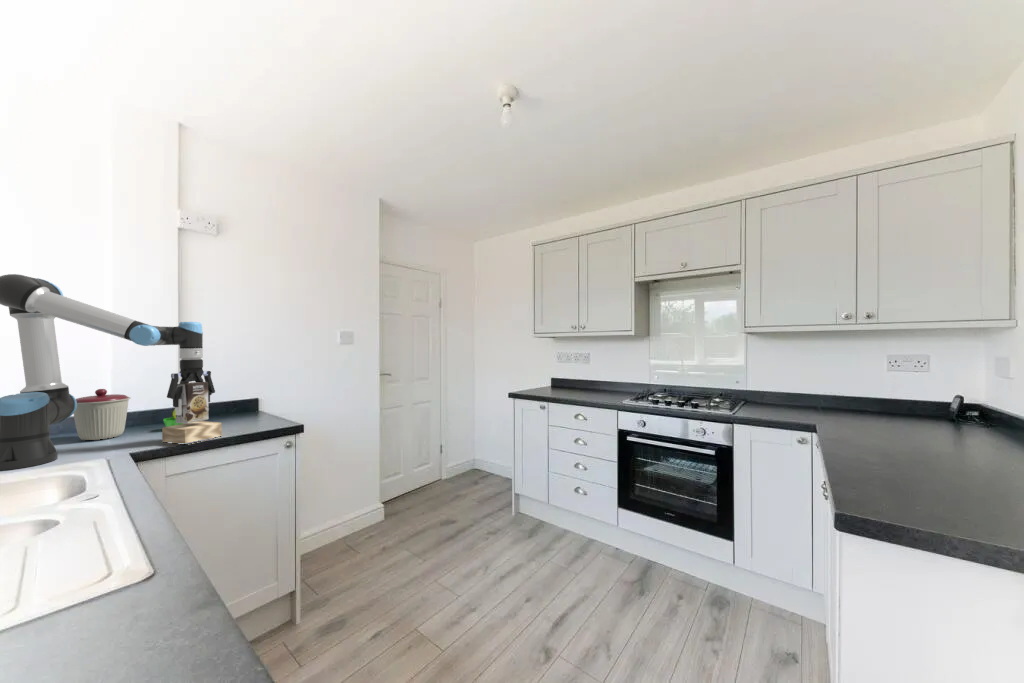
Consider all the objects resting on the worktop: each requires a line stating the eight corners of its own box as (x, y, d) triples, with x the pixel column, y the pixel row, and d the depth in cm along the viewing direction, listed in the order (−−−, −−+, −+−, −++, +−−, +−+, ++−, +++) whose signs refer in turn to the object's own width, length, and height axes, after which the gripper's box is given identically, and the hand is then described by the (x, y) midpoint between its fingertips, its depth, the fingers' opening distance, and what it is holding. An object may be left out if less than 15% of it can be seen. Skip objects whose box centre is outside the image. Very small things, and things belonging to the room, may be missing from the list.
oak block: (185, 445, 155) (184, 429, 155) (162, 442, 160) (162, 427, 160) (221, 436, 169) (221, 422, 169) (199, 434, 173) (199, 420, 173)
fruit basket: (195, 425, 193) (194, 402, 193) (195, 428, 186) (195, 404, 186) (163, 429, 185) (163, 405, 185) (163, 432, 178) (162, 407, 178)
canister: (142, 433, 177) (141, 386, 177) (96, 443, 159) (95, 391, 159) (106, 432, 179) (105, 386, 179) (57, 443, 161) (56, 391, 161)
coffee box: (188, 423, 159) (187, 383, 159) (175, 423, 161) (174, 383, 160) (209, 419, 168) (208, 381, 168) (197, 418, 170) (196, 381, 169)
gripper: (166, 360, 153) (167, 418, 153) (224, 357, 173) (225, 408, 174) (154, 360, 155) (155, 417, 155) (213, 357, 176) (214, 407, 176)
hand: (192, 412), depth 164 cm, fingers closed on coffee box, 9 cm apart
